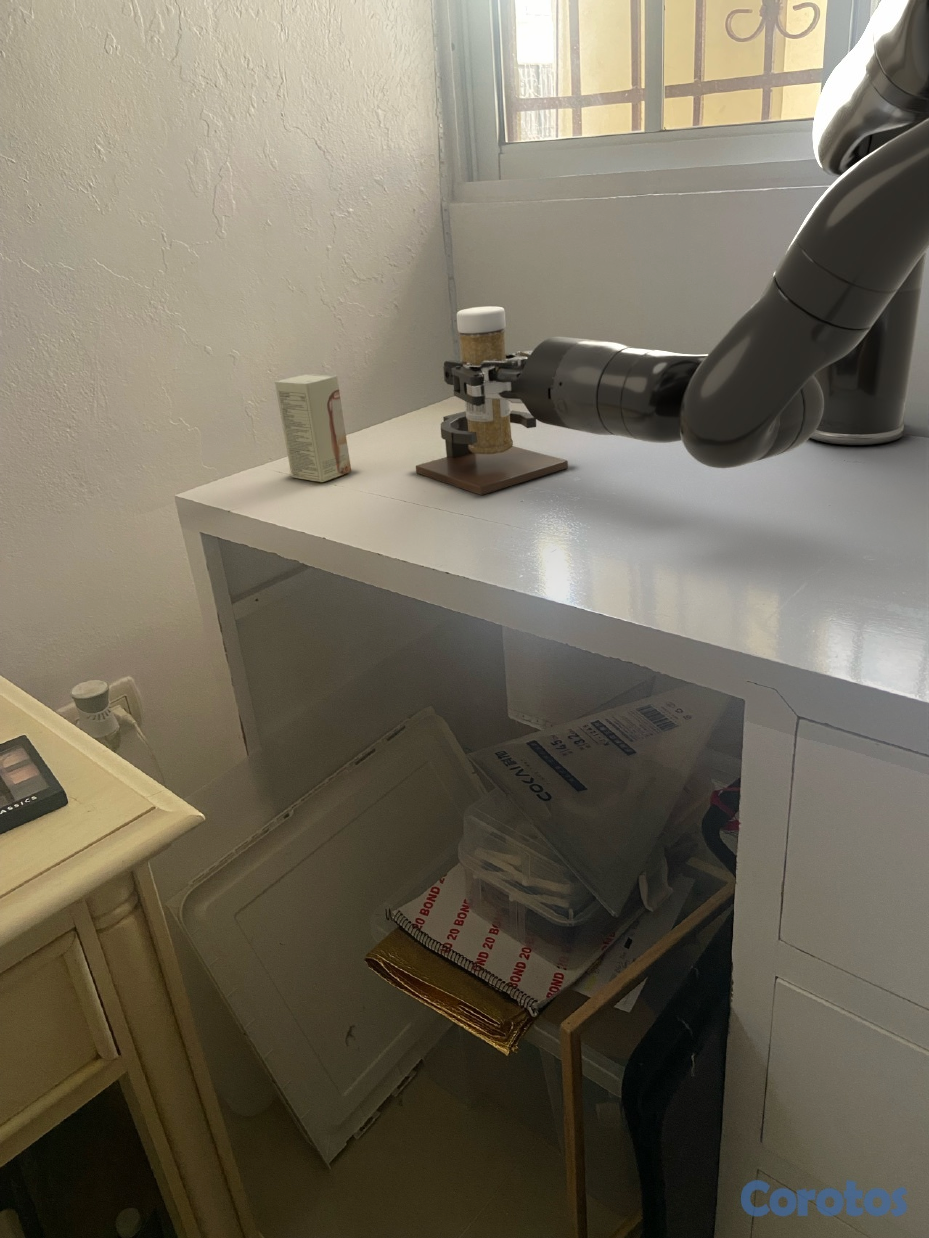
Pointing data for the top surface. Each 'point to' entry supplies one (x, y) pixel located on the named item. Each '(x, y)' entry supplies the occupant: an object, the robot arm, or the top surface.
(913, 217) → the robot arm
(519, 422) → the cup holder
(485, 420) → the spice jar
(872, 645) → the top surface
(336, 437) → the printed product carton
